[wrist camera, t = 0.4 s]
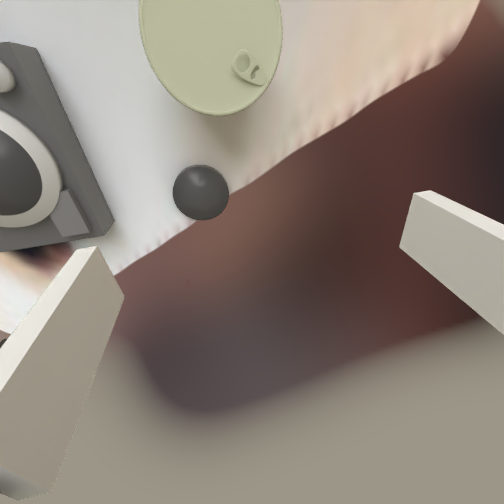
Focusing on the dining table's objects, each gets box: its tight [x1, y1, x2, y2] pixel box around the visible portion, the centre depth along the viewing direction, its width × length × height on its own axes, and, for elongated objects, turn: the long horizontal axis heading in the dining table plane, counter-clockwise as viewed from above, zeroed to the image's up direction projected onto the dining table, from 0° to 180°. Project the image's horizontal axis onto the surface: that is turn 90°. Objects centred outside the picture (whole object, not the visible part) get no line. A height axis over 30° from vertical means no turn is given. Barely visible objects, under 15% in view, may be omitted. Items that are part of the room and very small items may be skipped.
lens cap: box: [173, 165, 229, 220], centre depth 33 cm, size 7×7×2 cm
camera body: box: [0, 42, 115, 252], centre depth 26 cm, size 18×14×5 cm
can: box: [139, 0, 282, 116], centre depth 21 cm, size 9×9×12 cm
